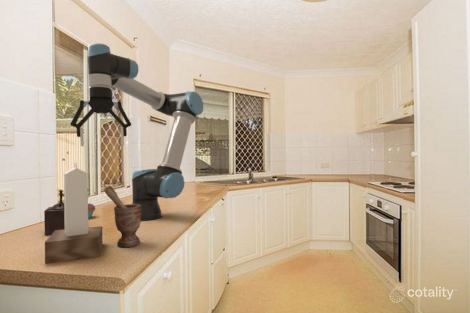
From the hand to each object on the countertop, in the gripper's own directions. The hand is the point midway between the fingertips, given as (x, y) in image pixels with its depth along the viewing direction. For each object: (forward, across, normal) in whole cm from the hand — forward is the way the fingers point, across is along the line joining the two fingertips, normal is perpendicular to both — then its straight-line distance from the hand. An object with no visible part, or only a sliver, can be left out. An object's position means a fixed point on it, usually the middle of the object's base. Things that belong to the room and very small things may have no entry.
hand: (103, 145), depth 109 cm
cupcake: (+35, +10, -39) cm, 53 cm away
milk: (+28, +8, +16) cm, 33 cm away
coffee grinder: (+34, +15, -16) cm, 40 cm away
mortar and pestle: (+34, -5, +14) cm, 37 cm away
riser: (+33, +8, +16) cm, 38 cm away
